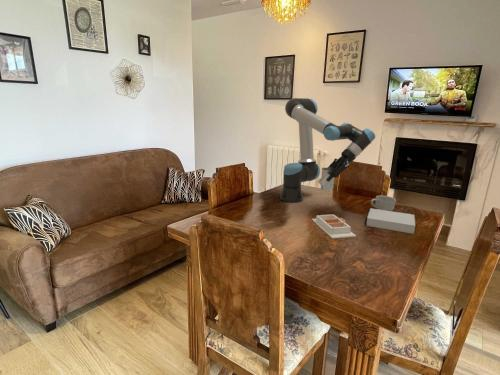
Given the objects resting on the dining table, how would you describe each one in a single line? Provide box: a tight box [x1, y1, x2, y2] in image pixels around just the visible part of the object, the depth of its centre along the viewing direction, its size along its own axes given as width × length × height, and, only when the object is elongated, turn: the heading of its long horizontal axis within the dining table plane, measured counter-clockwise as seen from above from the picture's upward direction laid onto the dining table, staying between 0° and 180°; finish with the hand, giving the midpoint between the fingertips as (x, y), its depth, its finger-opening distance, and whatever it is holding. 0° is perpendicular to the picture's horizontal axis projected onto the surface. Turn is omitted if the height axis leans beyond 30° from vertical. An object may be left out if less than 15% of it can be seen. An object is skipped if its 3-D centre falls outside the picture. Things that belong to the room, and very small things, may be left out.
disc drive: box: [364, 207, 416, 235], centre depth 154 cm, size 18×22×5 cm
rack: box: [311, 213, 357, 240], centre depth 148 cm, size 12×24×4 cm, turn 12°
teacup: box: [370, 194, 397, 212], centre depth 173 cm, size 14×11×8 cm
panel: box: [320, 167, 335, 191], centre depth 161 cm, size 6×3×12 cm, turn 102°
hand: (320, 183), depth 161 cm, fingers closed on panel, 3 cm apart
